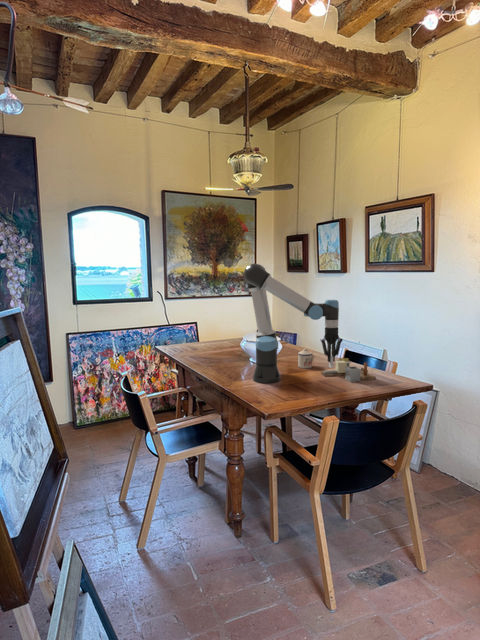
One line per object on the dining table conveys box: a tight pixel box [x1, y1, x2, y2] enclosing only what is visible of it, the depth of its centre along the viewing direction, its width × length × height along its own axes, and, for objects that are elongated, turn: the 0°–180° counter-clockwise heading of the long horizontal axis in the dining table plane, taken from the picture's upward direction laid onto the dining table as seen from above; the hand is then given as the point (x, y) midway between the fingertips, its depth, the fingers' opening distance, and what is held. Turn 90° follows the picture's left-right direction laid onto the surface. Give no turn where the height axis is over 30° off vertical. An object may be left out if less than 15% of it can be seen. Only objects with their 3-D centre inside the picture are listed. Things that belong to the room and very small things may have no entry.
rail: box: [320, 367, 369, 378], centre depth 226 cm, size 26×6×2 cm, turn 100°
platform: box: [335, 357, 352, 367], centre depth 240 cm, size 12×18×7 cm, turn 45°
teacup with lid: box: [297, 348, 315, 369], centre depth 244 cm, size 12×9×12 cm
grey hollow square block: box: [344, 365, 361, 383], centre depth 213 cm, size 6×6×7 cm
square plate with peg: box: [360, 362, 377, 381], centre depth 217 cm, size 8×8×8 cm
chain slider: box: [323, 360, 347, 373], centre depth 224 cm, size 13×4×6 cm, turn 100°
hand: (331, 367), depth 224 cm, fingers closed
